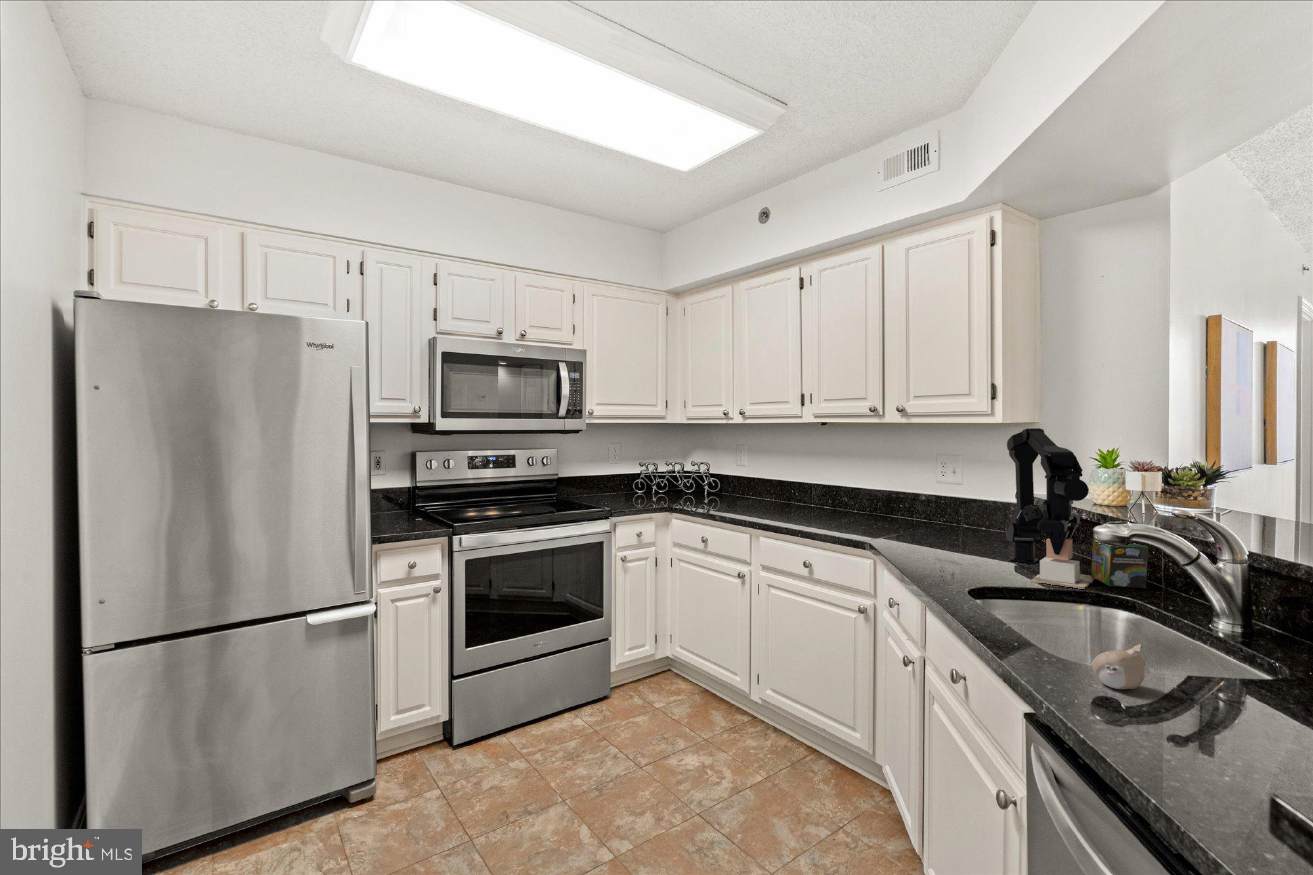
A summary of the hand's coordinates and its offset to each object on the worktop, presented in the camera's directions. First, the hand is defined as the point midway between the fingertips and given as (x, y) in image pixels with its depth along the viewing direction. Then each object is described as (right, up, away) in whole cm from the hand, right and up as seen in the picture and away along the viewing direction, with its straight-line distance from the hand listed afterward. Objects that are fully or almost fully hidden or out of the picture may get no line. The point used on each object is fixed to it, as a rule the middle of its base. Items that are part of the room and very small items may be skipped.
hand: (1059, 552), depth 164 cm
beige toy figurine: (-34, -10, -65) cm, 74 cm away
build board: (+2, -8, +1) cm, 8 cm away
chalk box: (+13, -8, -4) cm, 16 cm away
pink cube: (0, -1, 0) cm, 1 cm away
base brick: (0, -7, 0) cm, 7 cm away
